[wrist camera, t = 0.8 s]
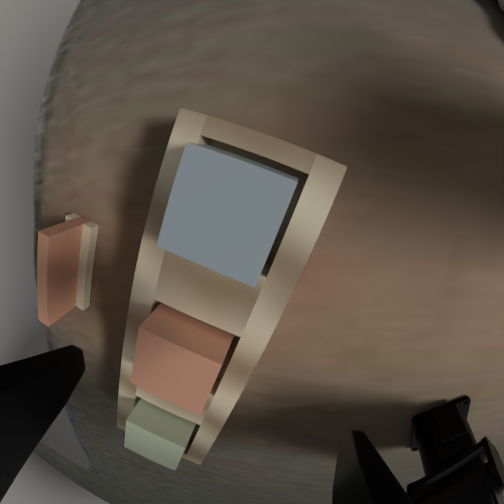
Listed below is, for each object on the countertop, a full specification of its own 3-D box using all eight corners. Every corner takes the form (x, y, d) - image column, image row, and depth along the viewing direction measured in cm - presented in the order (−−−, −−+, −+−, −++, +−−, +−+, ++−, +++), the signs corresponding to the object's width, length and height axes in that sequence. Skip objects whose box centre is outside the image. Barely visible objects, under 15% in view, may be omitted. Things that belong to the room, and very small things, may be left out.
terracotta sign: (89, 305, 24) (55, 332, 19) (66, 291, 24) (32, 314, 19) (99, 225, 21) (56, 242, 16) (73, 212, 21) (31, 226, 17)
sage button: (185, 447, 23) (175, 470, 20) (137, 425, 23) (124, 446, 20) (196, 421, 21) (185, 448, 18) (141, 396, 21) (126, 420, 19)
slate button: (263, 265, 16) (254, 287, 13) (180, 231, 16) (156, 245, 14) (298, 178, 15) (297, 182, 12) (207, 144, 15) (186, 142, 12)
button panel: (210, 436, 27) (200, 464, 23) (133, 401, 27) (116, 426, 23) (337, 165, 17) (347, 166, 13) (204, 117, 18) (180, 107, 14)
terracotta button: (212, 385, 20) (200, 415, 17) (149, 357, 20) (130, 382, 17) (234, 335, 18) (222, 364, 15) (161, 303, 18) (139, 326, 15)
